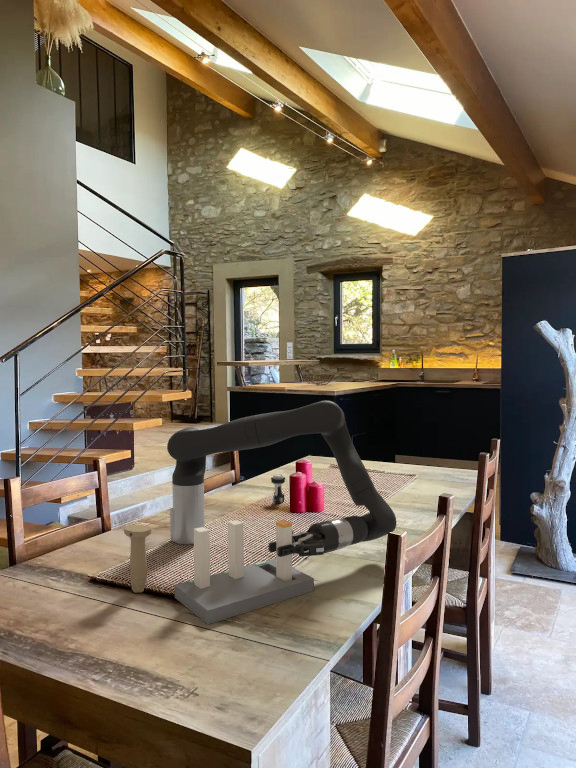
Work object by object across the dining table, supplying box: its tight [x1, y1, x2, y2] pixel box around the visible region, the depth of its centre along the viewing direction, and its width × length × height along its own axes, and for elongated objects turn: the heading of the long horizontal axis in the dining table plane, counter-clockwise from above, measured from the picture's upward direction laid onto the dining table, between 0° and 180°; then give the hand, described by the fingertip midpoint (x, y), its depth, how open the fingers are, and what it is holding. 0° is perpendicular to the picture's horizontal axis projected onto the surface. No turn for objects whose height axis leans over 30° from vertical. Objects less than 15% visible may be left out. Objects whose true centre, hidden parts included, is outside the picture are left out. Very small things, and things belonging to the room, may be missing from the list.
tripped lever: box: [275, 519, 293, 582], centre depth 138 cm, size 2×3×14 cm
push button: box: [270, 473, 286, 505], centre depth 213 cm, size 7×5×10 cm
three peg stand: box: [174, 519, 315, 625], centre depth 135 cm, size 28×16×16 cm, turn 126°
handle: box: [123, 524, 152, 593], centre depth 137 cm, size 5×6×15 cm
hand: (274, 550), depth 136 cm, fingers closed on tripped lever, 3 cm apart
